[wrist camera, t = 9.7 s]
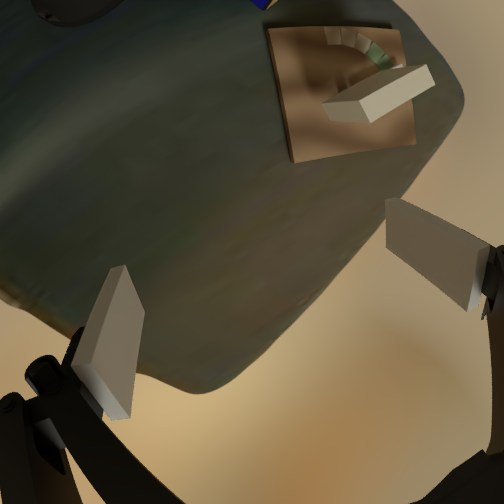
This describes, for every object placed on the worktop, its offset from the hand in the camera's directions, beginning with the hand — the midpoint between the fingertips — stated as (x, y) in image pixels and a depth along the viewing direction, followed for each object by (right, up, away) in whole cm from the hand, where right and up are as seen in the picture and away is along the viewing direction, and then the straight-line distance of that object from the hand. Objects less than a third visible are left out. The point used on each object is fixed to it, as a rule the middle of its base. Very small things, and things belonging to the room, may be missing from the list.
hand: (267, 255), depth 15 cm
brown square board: (+12, +22, +22) cm, 34 cm away
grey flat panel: (+14, +22, +21) cm, 33 cm away
